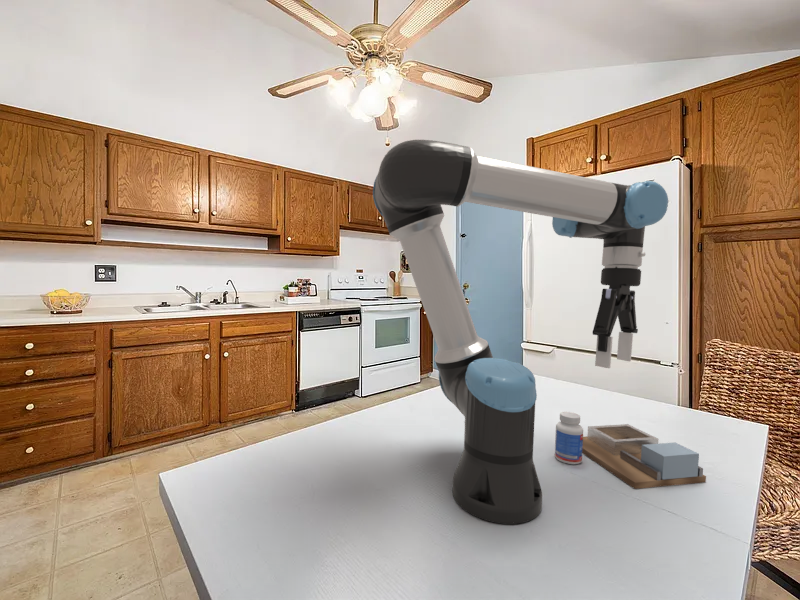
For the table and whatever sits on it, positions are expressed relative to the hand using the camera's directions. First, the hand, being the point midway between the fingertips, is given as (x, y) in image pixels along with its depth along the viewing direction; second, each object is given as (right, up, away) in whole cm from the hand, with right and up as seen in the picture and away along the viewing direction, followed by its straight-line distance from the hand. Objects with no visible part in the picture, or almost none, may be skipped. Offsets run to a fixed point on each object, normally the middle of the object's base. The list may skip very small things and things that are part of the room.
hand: (613, 363), depth 82 cm
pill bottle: (-11, -21, -2) cm, 24 cm away
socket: (+3, -19, +3) cm, 20 cm away
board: (+2, -21, -2) cm, 21 cm away
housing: (+6, -20, -9) cm, 22 cm away
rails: (+5, -20, -7) cm, 22 cm away
